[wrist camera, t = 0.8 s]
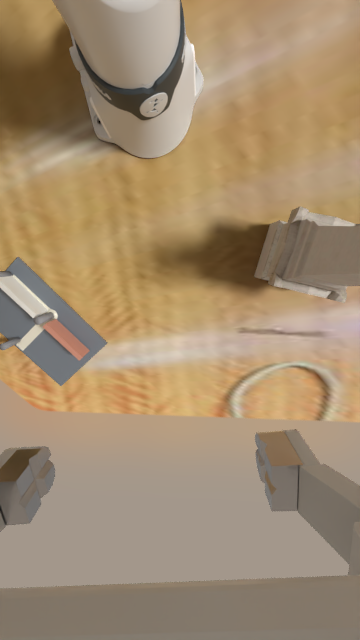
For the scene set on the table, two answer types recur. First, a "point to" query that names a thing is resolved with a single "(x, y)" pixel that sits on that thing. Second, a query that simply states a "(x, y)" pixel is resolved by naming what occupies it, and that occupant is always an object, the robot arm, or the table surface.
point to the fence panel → (66, 339)
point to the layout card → (35, 340)
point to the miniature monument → (312, 255)
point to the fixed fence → (22, 303)
